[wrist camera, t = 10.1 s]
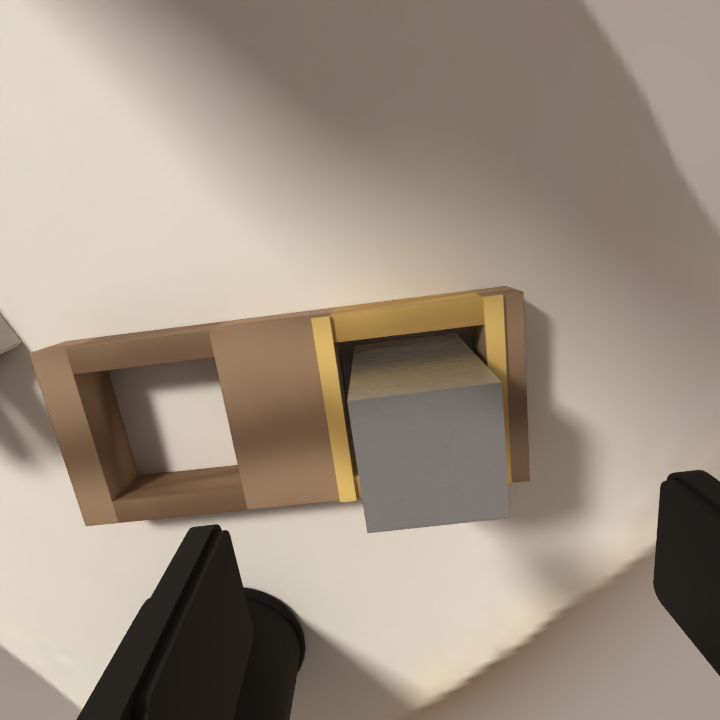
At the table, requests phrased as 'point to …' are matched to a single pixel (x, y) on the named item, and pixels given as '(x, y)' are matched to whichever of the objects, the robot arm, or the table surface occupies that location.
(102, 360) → the wooden slotted tray
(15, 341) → the gray curved box
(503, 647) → the table surface
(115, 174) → the table surface
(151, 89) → the table surface
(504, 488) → the grey rectangular block
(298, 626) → the aerosol can
